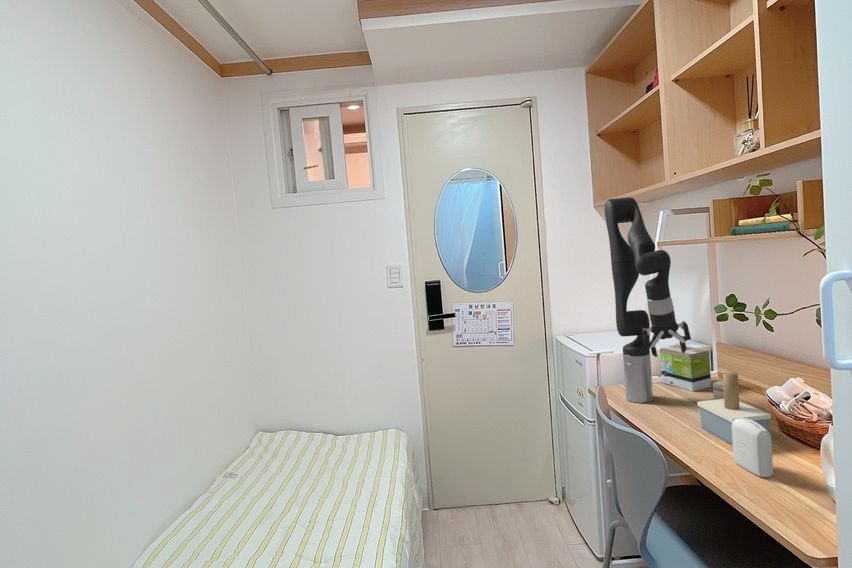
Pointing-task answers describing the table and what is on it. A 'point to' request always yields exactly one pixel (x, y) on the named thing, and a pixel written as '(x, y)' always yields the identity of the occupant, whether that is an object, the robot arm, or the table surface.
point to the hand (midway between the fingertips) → (669, 354)
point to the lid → (732, 403)
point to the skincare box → (718, 390)
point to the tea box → (685, 367)
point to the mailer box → (722, 425)
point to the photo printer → (752, 447)
